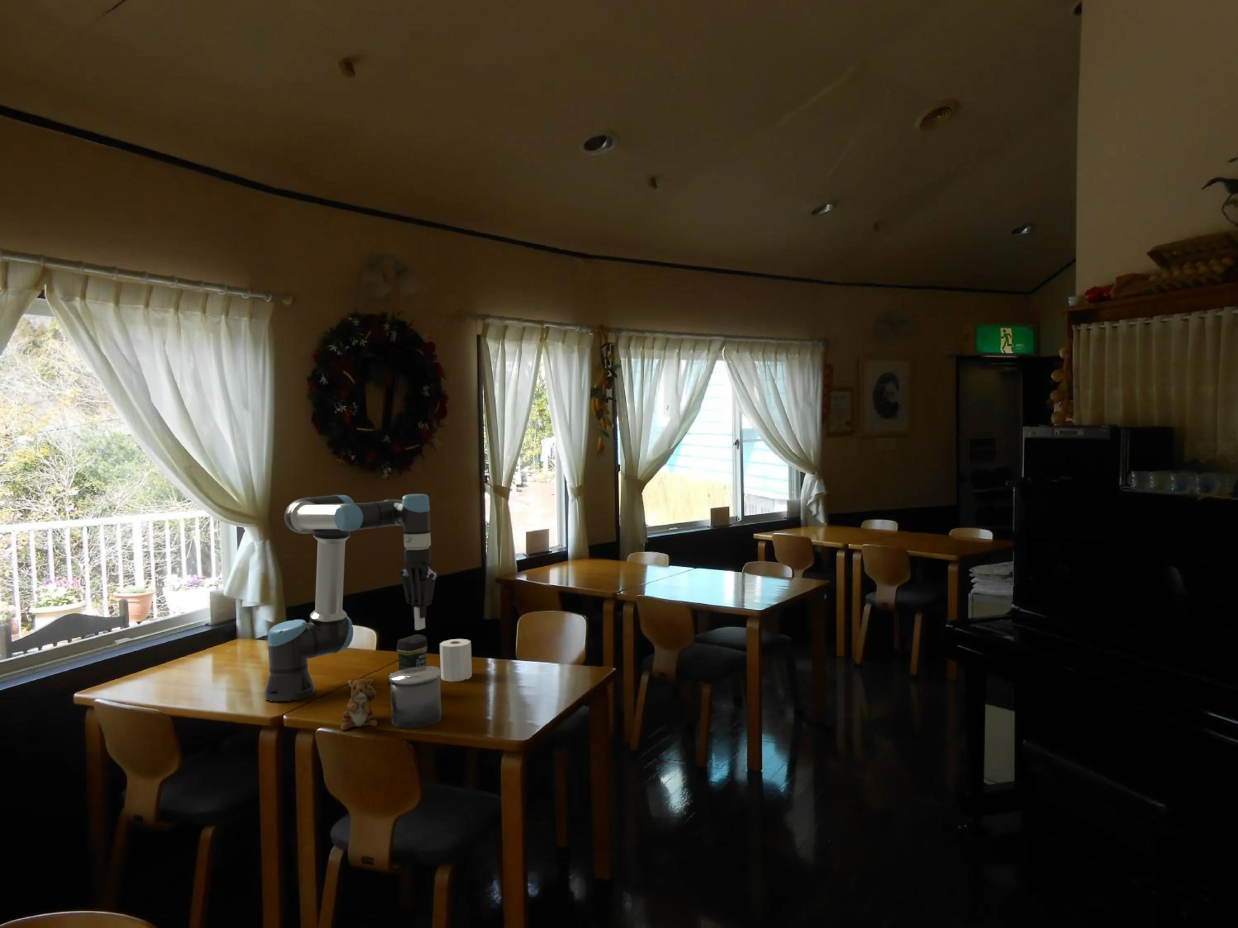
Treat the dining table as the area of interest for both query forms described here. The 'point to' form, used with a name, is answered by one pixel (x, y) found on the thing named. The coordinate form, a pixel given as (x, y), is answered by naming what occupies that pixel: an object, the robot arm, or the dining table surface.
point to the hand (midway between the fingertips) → (420, 628)
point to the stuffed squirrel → (359, 705)
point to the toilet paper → (455, 660)
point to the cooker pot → (416, 704)
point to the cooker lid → (414, 675)
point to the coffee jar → (412, 651)
